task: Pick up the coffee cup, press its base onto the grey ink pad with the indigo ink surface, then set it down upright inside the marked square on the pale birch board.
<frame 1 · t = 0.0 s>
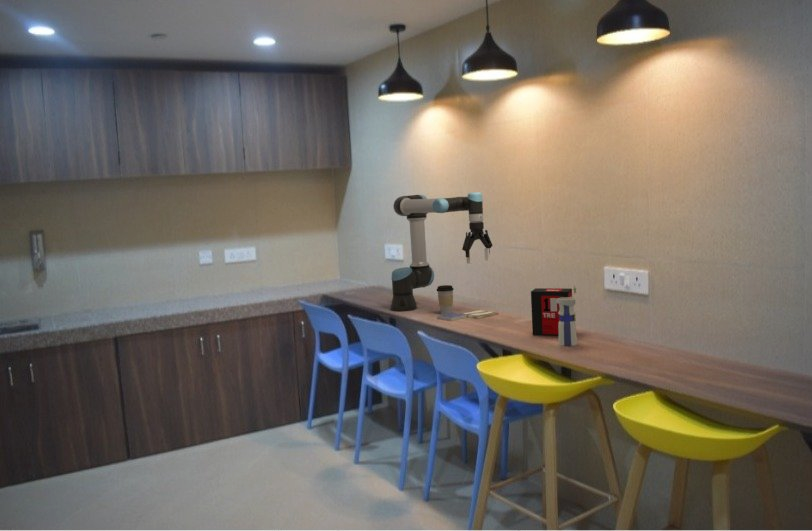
hand: (478, 262, 366), 28 cm above the countertop, fingers open, 13 cm apart
cleaning product box: (553, 334, 312), on the countertop
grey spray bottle: (568, 344, 291), on the countertop
coffee cup: (446, 313, 376), on the countertop
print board: (478, 315, 367), on the countertop
ink pad: (451, 318, 363), on the countertop
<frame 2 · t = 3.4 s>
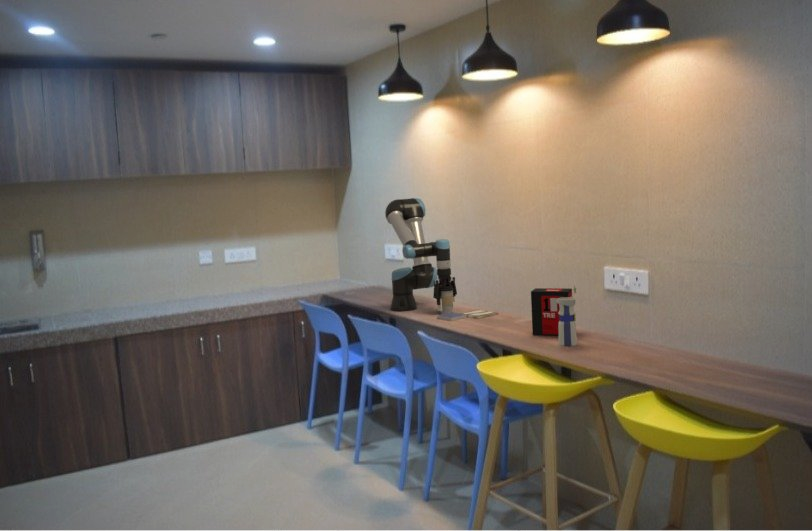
hand: (446, 309, 376), 2 cm above the countertop, fingers closed on coffee cup, 8 cm apart
coffee cup: (446, 313, 376), on the countertop, touching gripper
everything else where it was.
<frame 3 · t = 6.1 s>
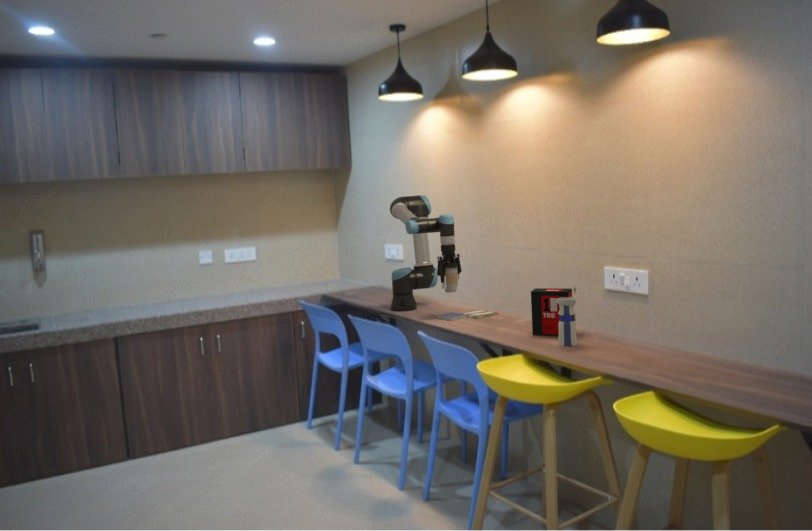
hand: (450, 287, 361), 16 cm above the countertop, fingers closed on coffee cup, 8 cm apart
coffee cup: (450, 292, 361), point 14 cm above the countertop, touching gripper
everything else where it was.
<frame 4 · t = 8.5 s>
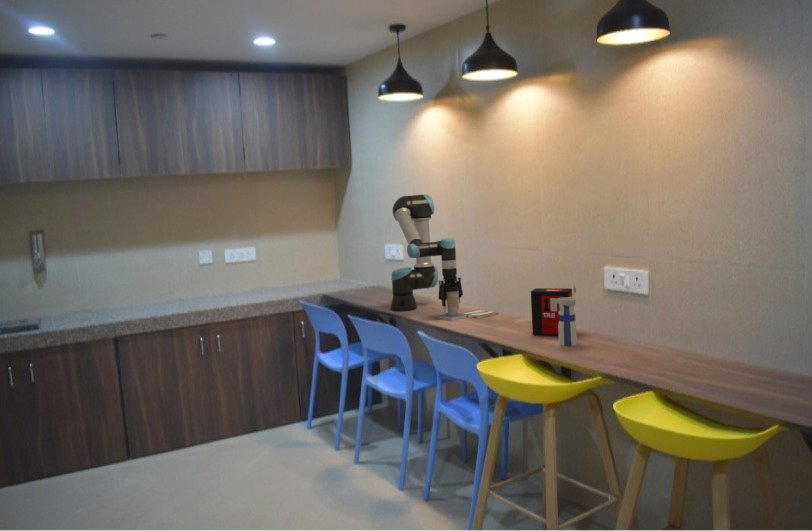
hand: (451, 311, 362), 4 cm above the countertop, fingers closed on coffee cup, 8 cm apart
coffee cup: (451, 315, 363), point 2 cm above the countertop, touching gripper, ink pad
everything else where it was.
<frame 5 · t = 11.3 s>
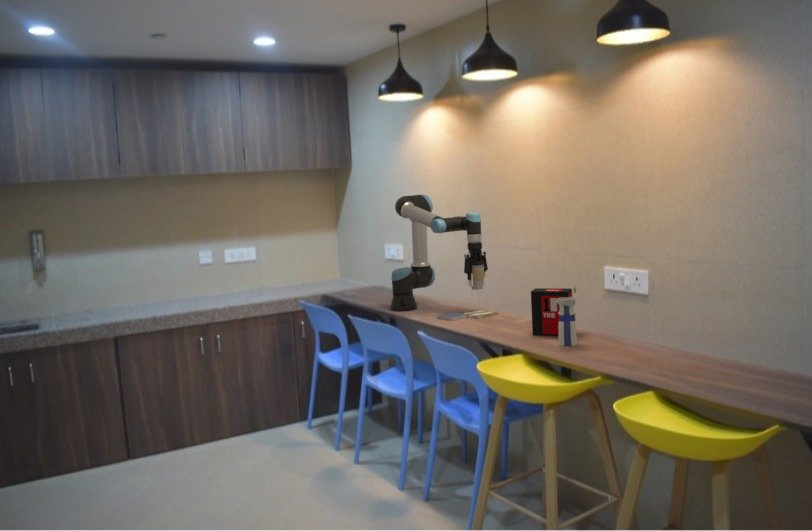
hand: (476, 285, 365), 16 cm above the countertop, fingers closed on coffee cup, 8 cm apart
coffee cup: (477, 289, 365), point 14 cm above the countertop, touching gripper
everything else where it was.
when the fingers open (4 cm above the countertop, at t = 13.7 s): coffee cup drops 1 cm, resting on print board.
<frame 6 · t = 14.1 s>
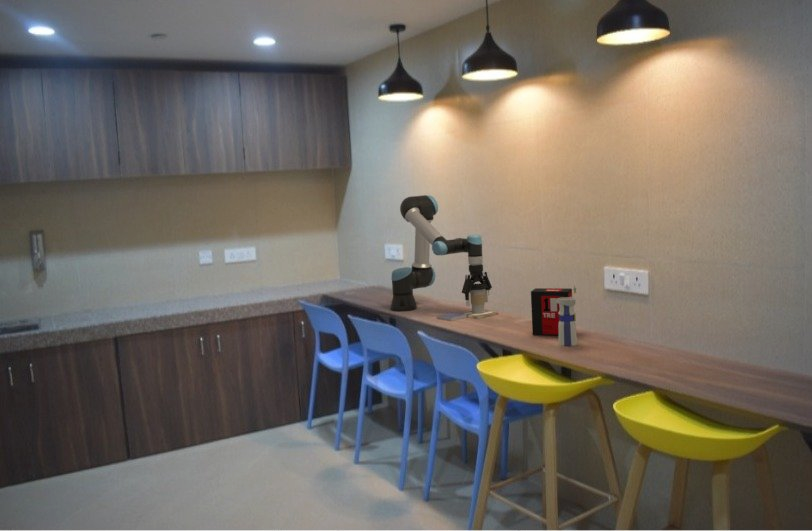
hand: (477, 304, 366), 6 cm above the countertop, fingers open, 13 cm apart
coffee cup: (478, 313, 367), point 1 cm above the countertop, touching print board
everything else where it was.
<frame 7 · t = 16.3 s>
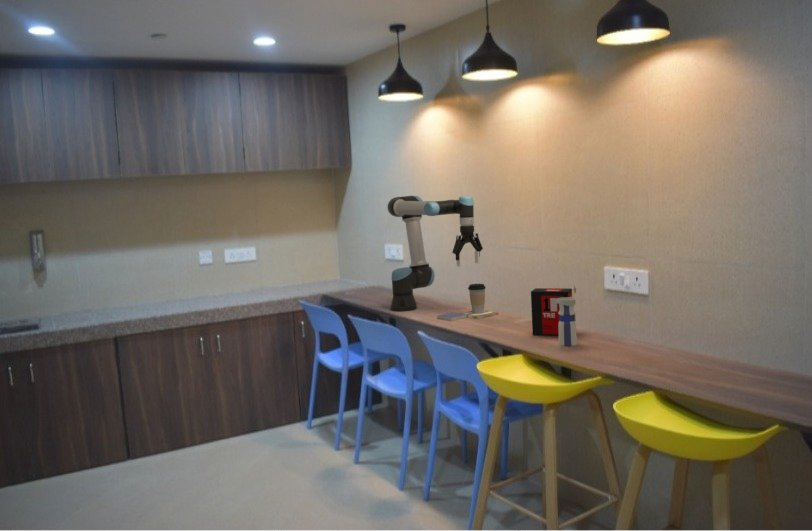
hand: (468, 264, 370), 26 cm above the countertop, fingers open, 13 cm apart
nothing on the countertop moved.
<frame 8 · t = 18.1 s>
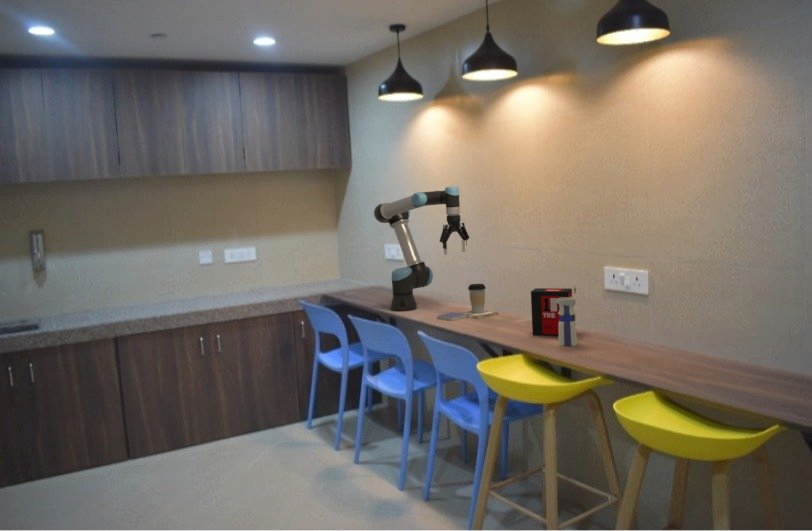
hand: (455, 253, 381), 32 cm above the countertop, fingers open, 13 cm apart
nothing on the countertop moved.
at the end: coffee cup 0.1 cm off-centre on the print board, point 1.0 cm above the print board's base; coffee cup touching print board; coffee cup tilted 0° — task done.
